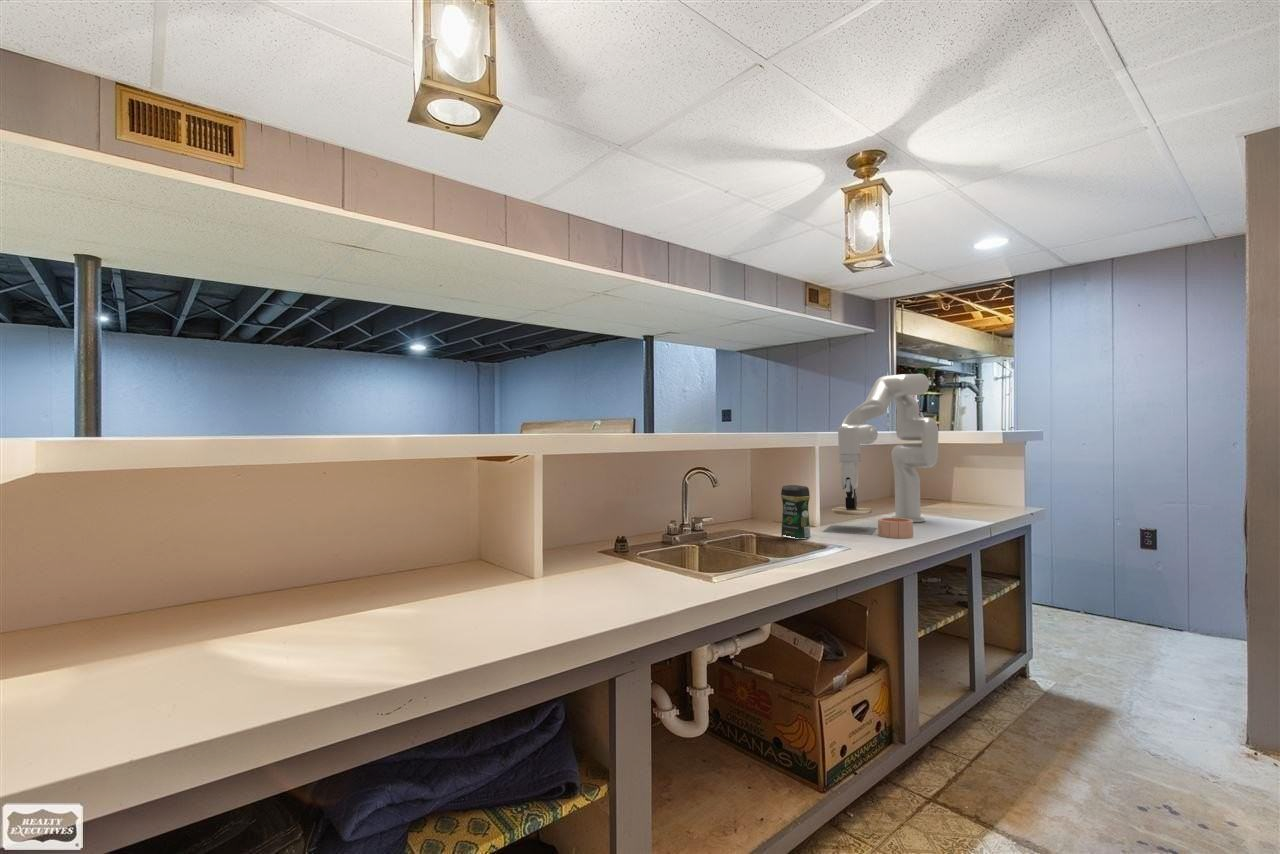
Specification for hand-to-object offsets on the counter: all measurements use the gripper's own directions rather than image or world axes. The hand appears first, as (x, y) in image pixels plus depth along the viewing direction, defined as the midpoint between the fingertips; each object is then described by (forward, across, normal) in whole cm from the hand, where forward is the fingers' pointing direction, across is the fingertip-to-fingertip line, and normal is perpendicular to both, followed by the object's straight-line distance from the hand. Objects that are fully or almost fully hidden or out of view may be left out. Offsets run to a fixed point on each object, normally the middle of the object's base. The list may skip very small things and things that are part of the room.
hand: (851, 507), depth 219 cm
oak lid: (+2, 0, 0) cm, 2 cm away
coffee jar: (+8, +23, -15) cm, 29 cm away
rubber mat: (+9, +1, 0) cm, 9 cm away
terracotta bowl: (+9, +7, +16) cm, 19 cm away
